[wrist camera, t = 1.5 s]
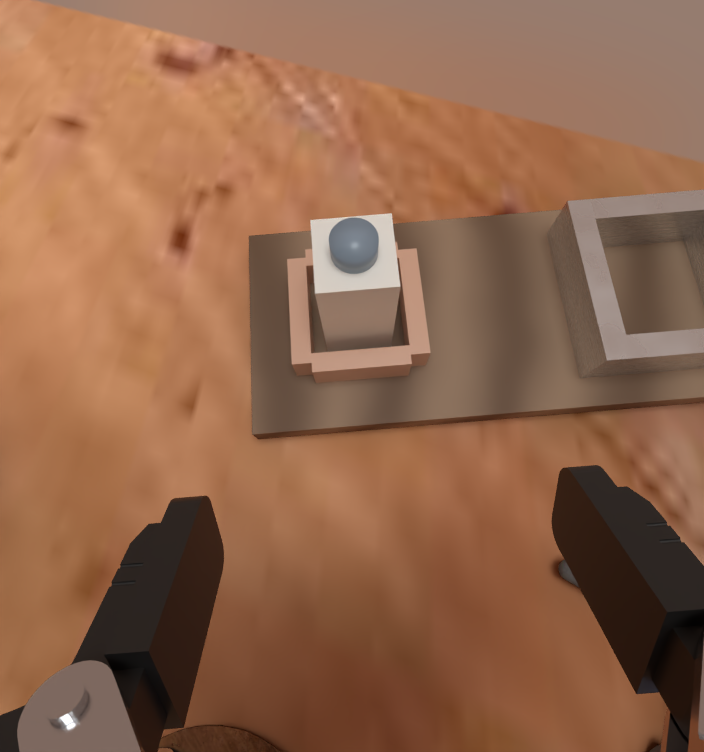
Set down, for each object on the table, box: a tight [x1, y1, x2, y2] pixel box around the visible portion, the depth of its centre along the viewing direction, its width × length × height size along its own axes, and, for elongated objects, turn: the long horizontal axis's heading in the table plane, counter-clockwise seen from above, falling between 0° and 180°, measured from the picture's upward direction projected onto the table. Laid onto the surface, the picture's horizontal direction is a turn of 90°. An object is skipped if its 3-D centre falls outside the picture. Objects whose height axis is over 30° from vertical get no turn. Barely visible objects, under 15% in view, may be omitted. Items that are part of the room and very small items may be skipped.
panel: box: [249, 210, 704, 439], centre depth 27 cm, size 28×12×2 cm, turn 95°
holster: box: [287, 242, 431, 383], centre depth 26 cm, size 7×7×2 cm
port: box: [547, 190, 704, 378], centre depth 25 cm, size 9×9×3 cm
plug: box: [311, 213, 400, 352], centre depth 23 cm, size 4×4×8 cm
